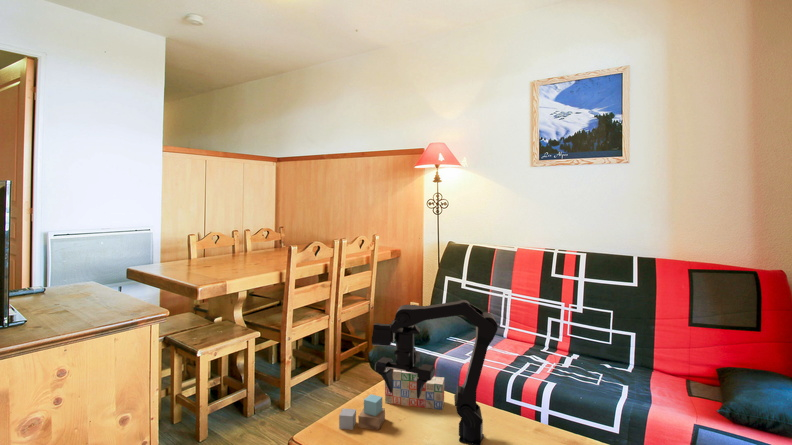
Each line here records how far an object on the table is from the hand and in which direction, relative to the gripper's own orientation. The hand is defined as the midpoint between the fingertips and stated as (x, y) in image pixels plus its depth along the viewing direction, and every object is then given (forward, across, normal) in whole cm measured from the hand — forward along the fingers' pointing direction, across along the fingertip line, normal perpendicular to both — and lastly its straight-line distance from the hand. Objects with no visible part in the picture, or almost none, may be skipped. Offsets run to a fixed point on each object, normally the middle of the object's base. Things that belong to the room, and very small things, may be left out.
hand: (404, 395), depth 125 cm
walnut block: (+13, +12, -2) cm, 18 cm away
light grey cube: (+13, +19, +3) cm, 23 cm away
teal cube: (+9, +12, -2) cm, 15 cm away
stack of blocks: (+13, +4, -21) cm, 25 cm away
